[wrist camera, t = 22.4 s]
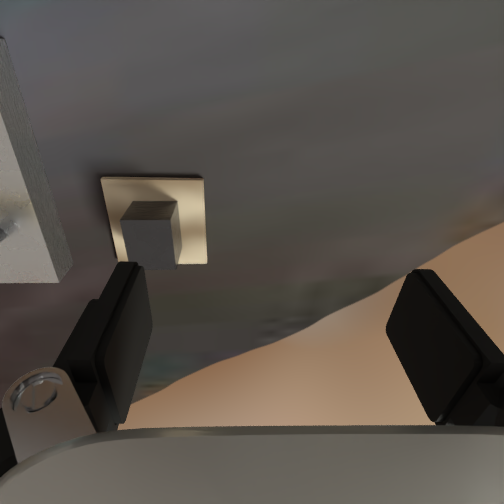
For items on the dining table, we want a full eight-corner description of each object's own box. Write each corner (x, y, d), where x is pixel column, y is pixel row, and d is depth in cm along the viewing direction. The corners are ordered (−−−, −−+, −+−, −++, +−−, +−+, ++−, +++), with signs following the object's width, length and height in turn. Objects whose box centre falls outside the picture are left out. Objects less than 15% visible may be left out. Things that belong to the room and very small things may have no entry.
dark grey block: (132, 200, 36) (119, 220, 32) (177, 200, 37) (170, 220, 32) (141, 246, 39) (130, 270, 35) (182, 246, 40) (176, 269, 35)
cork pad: (103, 176, 36) (100, 179, 35) (203, 178, 36) (202, 180, 36) (120, 260, 41) (118, 264, 41) (207, 260, 42) (206, 263, 41)
